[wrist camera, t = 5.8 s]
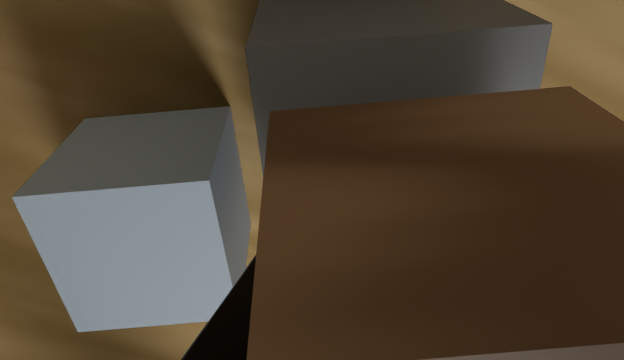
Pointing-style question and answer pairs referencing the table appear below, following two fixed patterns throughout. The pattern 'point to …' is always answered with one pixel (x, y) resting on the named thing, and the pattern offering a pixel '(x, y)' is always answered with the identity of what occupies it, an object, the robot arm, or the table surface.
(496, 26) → the base block
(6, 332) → the table surface
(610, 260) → the walnut cube
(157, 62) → the table surface
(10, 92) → the table surface
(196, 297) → the slate cube
